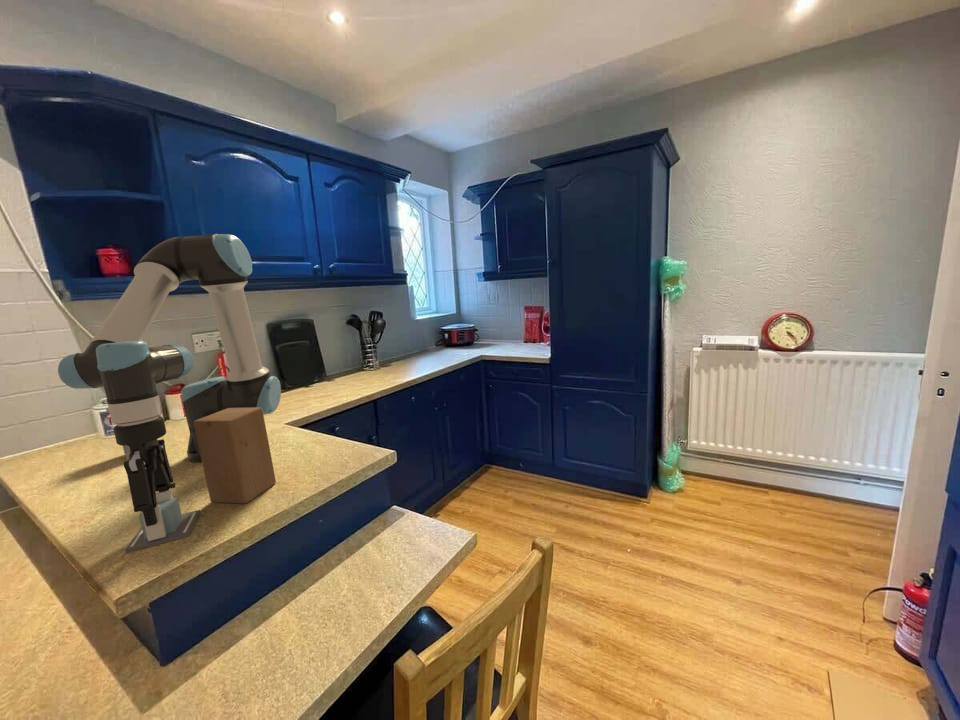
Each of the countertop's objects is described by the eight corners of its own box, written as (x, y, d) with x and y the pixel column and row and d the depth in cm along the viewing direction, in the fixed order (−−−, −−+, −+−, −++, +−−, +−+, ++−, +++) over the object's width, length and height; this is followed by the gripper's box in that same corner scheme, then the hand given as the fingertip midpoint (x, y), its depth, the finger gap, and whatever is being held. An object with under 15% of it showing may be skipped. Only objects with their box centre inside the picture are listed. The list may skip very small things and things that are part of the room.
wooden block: (246, 504, 89) (229, 420, 86) (209, 503, 91) (191, 421, 88) (277, 482, 99) (262, 406, 95) (243, 482, 101) (228, 407, 97)
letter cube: (182, 519, 84) (177, 497, 83) (175, 531, 79) (169, 508, 78) (153, 526, 82) (147, 504, 81) (143, 539, 77) (137, 516, 76)
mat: (144, 525, 83) (144, 523, 83) (200, 512, 87) (200, 509, 87) (125, 552, 74) (124, 549, 74) (188, 536, 78) (187, 533, 78)
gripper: (134, 412, 84) (157, 512, 87) (88, 438, 66) (119, 562, 70) (176, 406, 87) (197, 503, 90) (143, 429, 69) (170, 548, 73)
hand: (163, 528), depth 80 cm, fingers open, 6 cm apart
